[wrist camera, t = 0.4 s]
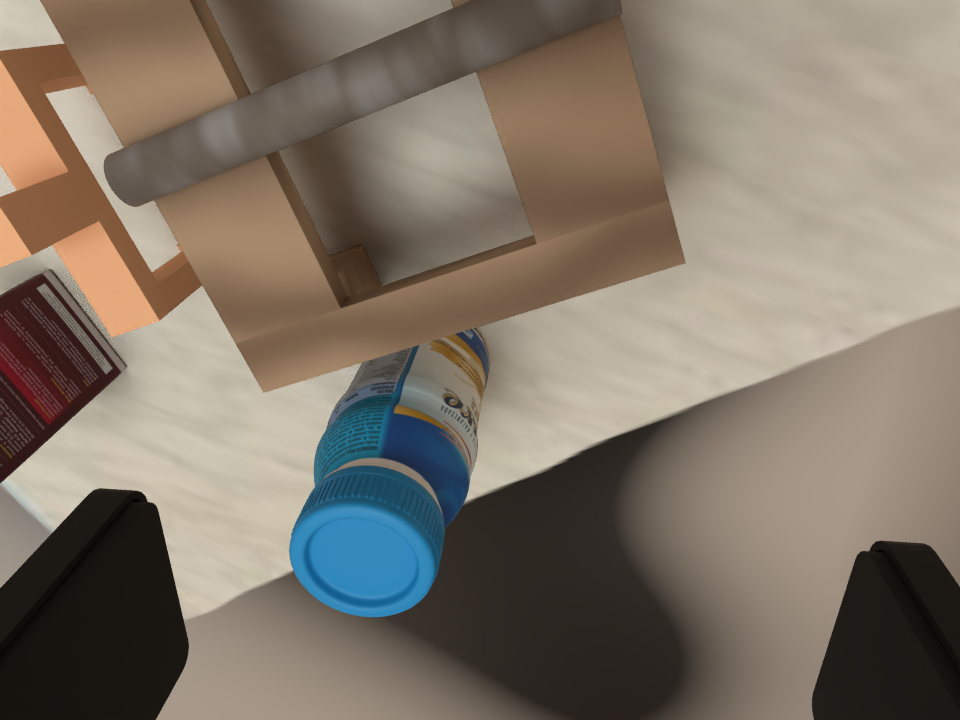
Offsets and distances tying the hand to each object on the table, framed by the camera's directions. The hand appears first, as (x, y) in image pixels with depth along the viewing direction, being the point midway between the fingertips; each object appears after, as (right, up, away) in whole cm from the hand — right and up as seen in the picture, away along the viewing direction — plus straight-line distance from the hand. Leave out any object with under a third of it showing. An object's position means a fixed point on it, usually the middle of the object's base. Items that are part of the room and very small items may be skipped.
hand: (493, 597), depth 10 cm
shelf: (-4, +20, +31) cm, 37 cm away
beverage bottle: (-4, +3, +40) cm, 40 cm away
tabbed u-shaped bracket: (-19, +16, +35) cm, 43 cm away
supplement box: (-29, +5, +42) cm, 51 cm away
